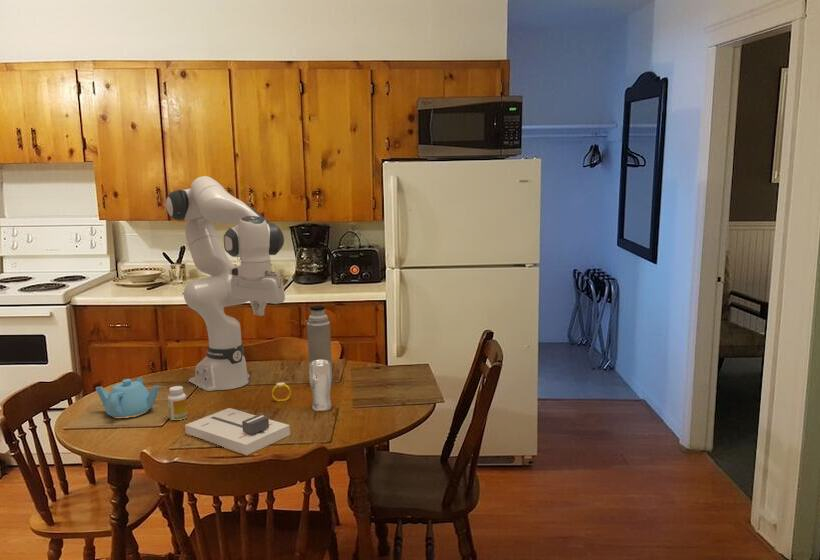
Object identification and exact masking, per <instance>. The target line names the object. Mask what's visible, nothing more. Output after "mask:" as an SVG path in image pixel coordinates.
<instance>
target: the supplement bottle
mask: <svg viewBox="0 0 820 560" xmlns="http://www.w3.org/2000/svg"><path fill="white" fill-rule="evenodd" d="M168 391H169V395H168V397H167V404H168V419H169V420H170V419H171V420H170V421H172V420H180V421H183V420H182V419H184V420H186V419H187V418H188V417H189V416H188V415H189V413H188V402H187V401H188V400H187V394H186V393H184V387H183V385H182V386H181V385H176V386H175V385H174V386H172V387H171V386H170V387H169V390H168ZM185 418H186V419H185Z"/></svg>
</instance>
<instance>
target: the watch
mask: <svg viewBox="0 0 820 560" xmlns="http://www.w3.org/2000/svg"><path fill="white" fill-rule="evenodd" d="M282 387H285V388H287V391H288V392H289V393H288V396H287V397H286V398H281V399H279V398H277V397H275V395H274V392H275V389H277V388H282ZM291 395H292V392H291V388H290V386H289V385H288V384H286V383H285V382H281V381H280V382H277V383H276V384H275V385H274V386H273V388H272V391H271V396H272V398H273V400H274V401H275V402H287V401H288V400H289V399H290V397H291Z"/></svg>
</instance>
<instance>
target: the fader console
mask: <svg viewBox="0 0 820 560" xmlns="http://www.w3.org/2000/svg"><path fill="white" fill-rule="evenodd" d="M256 415H257V414H256ZM256 415H255V414H251V413H248V412H245V411H242V410H238V409H235V408H231V407H228V408H226V409H222V410H220V411H217V412H215V413H212V414H210V415H207V416H204V417H202V418H199V419H197V420H194V421H192V422H188V423H187V424H184V428H185V429H184V430H185V434H186V433H187V434H190V435H193V436H196V437H199V438H201V439H205V440H207V441H210V442H212V443H215V444H217V445H216V446H218V445H220V446H222V447H221V448H223V447H224V448H223V449H227V450H230V451H232V452H235V453H239V454H242V455H244V456H248V455H251V454H253V453H255V452H257V451H260V450H261V449H264V448H266V447H268V446H271V445H272V444H274V443H276V442H278V441H280V440H283V439H284V438H287V437H289V436H290V435H291V430H290V424H287V423H283V422H280V421H277V420H273V419H269V418H268V419H269V428H267V429H264V430H262V431H260V432H258V433H255V434H253V435H252V434H249V433H246V432H243V426H242V421H244V420H247V419H249V418H252V417H254V416H256ZM212 443H211V444H212ZM215 444H214V445H215ZM220 446H219V447H220Z"/></svg>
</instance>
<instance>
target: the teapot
mask: <svg viewBox="0 0 820 560" xmlns="http://www.w3.org/2000/svg"><path fill="white" fill-rule="evenodd" d="M143 380H144V378H143V377H138V378H136V380H135V381H134V380H133V381H132V379H131V378H125V379H122V381H121V382H120V383H119V382H118V383H117V384H115V385H114V386H112V388H111V390H110V391H109V392H108V391H107V390H106V389H104V387H103V386H96V387H95V390H96V392H97V394H98V397H99V399H100V400H101V402H102V404H103V406H104V410H105V414H107V415H108V416H109V415H110V416H109V417H111V416H113V417H126V416H133V415H138V414H141V413H144V412H146V411H148V410H149V409H150V410H151V409H152V407H153V405H154V404H155V401H156V399H157V395H158V392H159V388H160V386H159V385H153V386H152V388H151V391H150V392H149V390H148V388H146V386H145V385H144V381H143ZM150 410H149V411H150ZM149 411H148V412H149Z"/></svg>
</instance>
